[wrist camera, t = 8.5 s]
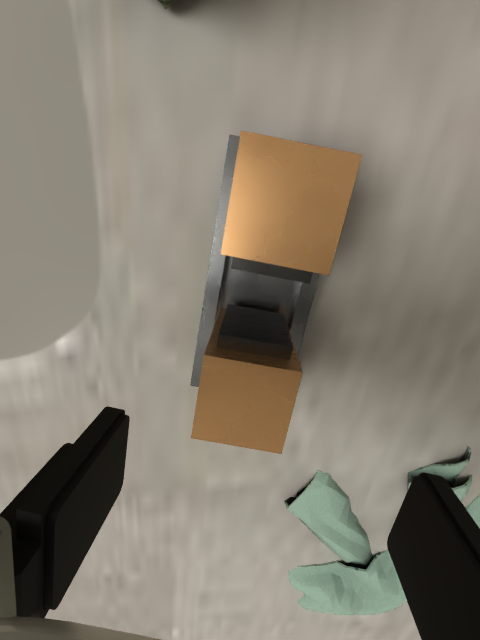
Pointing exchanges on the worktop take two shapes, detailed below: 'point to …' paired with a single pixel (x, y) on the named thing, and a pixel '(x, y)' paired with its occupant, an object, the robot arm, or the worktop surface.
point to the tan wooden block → (247, 380)
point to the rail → (246, 282)
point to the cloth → (354, 548)
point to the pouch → (166, 3)
